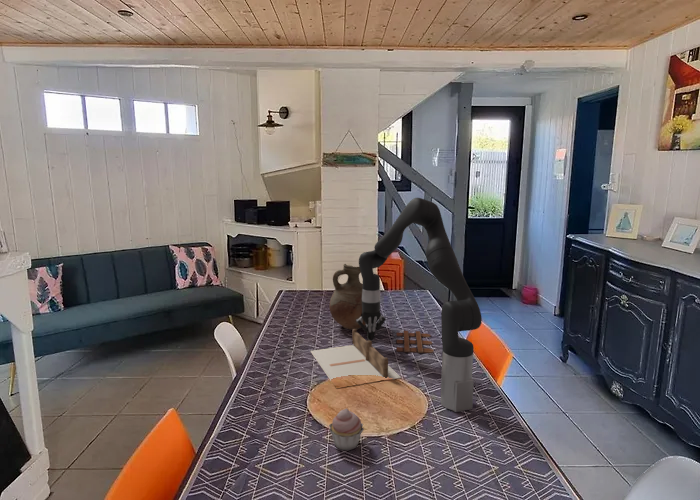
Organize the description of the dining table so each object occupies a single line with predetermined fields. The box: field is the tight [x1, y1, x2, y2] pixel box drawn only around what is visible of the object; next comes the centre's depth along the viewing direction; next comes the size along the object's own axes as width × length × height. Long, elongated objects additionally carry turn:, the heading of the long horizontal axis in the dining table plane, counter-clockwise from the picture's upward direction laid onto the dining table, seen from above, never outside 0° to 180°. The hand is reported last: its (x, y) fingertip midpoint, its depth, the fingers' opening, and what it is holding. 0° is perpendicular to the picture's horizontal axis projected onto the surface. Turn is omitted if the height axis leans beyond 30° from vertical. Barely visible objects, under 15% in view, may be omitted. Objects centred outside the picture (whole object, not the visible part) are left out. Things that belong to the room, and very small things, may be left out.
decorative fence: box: [395, 330, 435, 354], centre depth 191 cm, size 23×2×15 cm
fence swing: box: [351, 329, 367, 357], centre depth 181 cm, size 15×2×6 cm, turn 20°
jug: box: [328, 263, 366, 330], centre depth 207 cm, size 22×22×30 cm
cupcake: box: [328, 407, 365, 451], centre depth 119 cm, size 9×9×10 cm
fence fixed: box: [366, 339, 389, 378], centre depth 165 cm, size 18×2×8 cm, turn 20°
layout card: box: [310, 344, 402, 381], centre depth 170 cm, size 34×24×1 cm
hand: (370, 339), depth 186 cm, fingers closed
